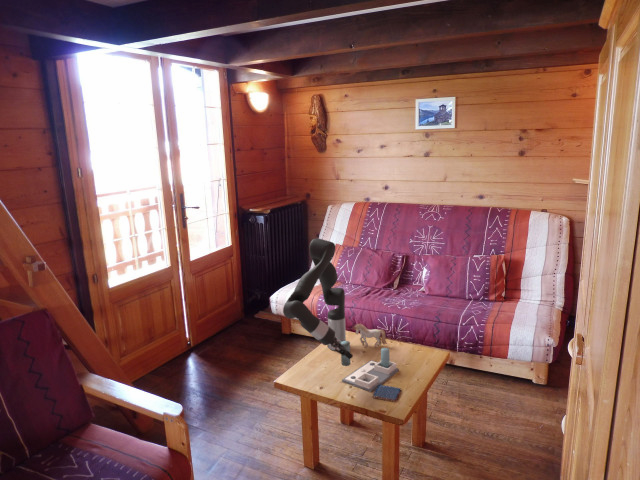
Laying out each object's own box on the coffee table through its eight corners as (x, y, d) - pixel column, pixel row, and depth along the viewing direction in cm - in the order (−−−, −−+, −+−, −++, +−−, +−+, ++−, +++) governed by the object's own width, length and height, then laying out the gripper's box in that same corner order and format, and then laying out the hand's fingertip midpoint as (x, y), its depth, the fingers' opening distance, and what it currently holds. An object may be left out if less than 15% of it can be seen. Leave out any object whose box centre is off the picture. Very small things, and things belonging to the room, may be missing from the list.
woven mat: (396, 403, 190) (396, 399, 190) (372, 399, 195) (372, 395, 194) (402, 391, 200) (402, 387, 199) (379, 387, 204) (379, 383, 204)
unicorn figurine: (349, 346, 247) (348, 322, 244) (383, 342, 250) (383, 319, 247) (352, 351, 240) (351, 327, 237) (387, 347, 243) (387, 324, 240)
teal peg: (339, 364, 201) (338, 343, 199) (345, 360, 204) (344, 340, 202) (346, 366, 199) (346, 345, 197) (352, 363, 202) (351, 342, 200)
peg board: (342, 381, 209) (341, 359, 207) (370, 361, 227) (370, 341, 225) (371, 392, 199) (370, 369, 197) (398, 370, 217) (398, 349, 215)
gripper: (331, 332, 190) (360, 355, 194) (324, 319, 203) (352, 342, 208) (319, 345, 190) (348, 368, 194) (313, 332, 204) (341, 354, 208)
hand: (350, 354), depth 201 cm, fingers closed on teal peg, 4 cm apart
